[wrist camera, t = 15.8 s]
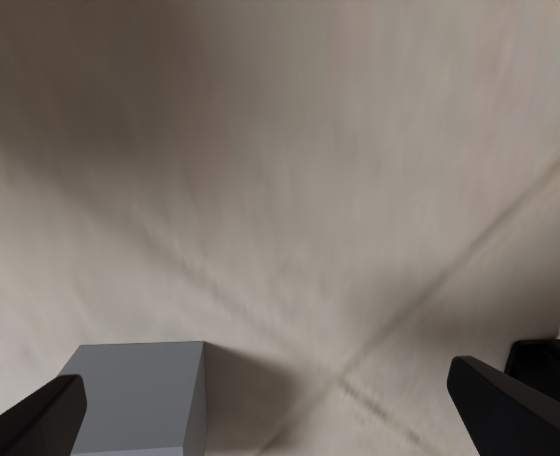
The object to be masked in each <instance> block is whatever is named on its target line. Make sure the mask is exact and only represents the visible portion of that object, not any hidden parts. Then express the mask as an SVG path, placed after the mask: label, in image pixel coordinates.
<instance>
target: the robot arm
mask: <svg viewBox="0 0 560 456" xmlns="http://www.w3.org/2000/svg"><path fill="white" fill-rule="evenodd" d="M447 389H448V392H449V394H450V396H451V398H452V400H453V402H454V404H455V406H456V408H457V410H458V412H459V415H460V417H461V419H462V421H463V423H464V425H465V427H466V429H467V431H468V433H469V435H470V437H471V439H472V441H473V443H474V445H475V447H476V449H477V451H478V453H479V455H480V456H560V339H554V340H529V341H517V342H515V343H514V344H513V346H512V348H511V351H510V355H509V358H508V361H507V365H506V368H505V371H504V373H503V372H501V371H499V370H497V369H495V368H493V367H491V366H489V365H487V364H486V363H484V362H482V361H480V360H478V359H476V358H474V357H472V356H455V357H454V358H453V359H452V361H451V365H450V370H449V374H448V378H447ZM86 410H87V397H86V392H85V387H84V382H83V378H82V376H81V375H80V374H63V375H59V376H58V377H56V378H54V379H53V380H51V381H50V382H48V383H47V384H45V385H44V386H43V387H41V388H40V389H38V390H37V391H35V392H34V393H32V394H31V395H29V396H28V397H26V398H25V399H23V400H22V401H20V402H19V403H17V404H16V405H14V406H13V407H11V408H10V409H8V410H7V411H5V412H4V413H2V414H1V415H0V456H70V455H71V452H72V449H73V447H74V444H75V441H76V438H77V436H78V433H79V430H80V428H81V425H82V422H83V419H84V417H85V414H86Z"/></svg>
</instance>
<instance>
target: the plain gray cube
mask: <svg viewBox="0 0 560 456" xmlns="http://www.w3.org/2000/svg"><path fill="white" fill-rule="evenodd" d="M63 374H80V375H81V376H82V378H83V382H84V387H85V392H86V397H87V410H86V414H85V417H84V419H83V422H82V425H81V428H80V430H79V433H78V436H77V438H76V441H75V444H74V447H73V449H72V452H71V455H70V456H204V453H205V445H206V437H207V409H206V387H205V365H204V343H203V341H198V342H169V343H140V344H111V345H82V346H79V347H78V349H77V350H76V351H75V353H74V354H73V355H72V357H71V358H70V359H69V361H68V362H67V363H66V365H65V366H64V367H63V369H62V370H61V371H60V373H59V374H58V375H57V377H58V376H59V375H63Z"/></svg>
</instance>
